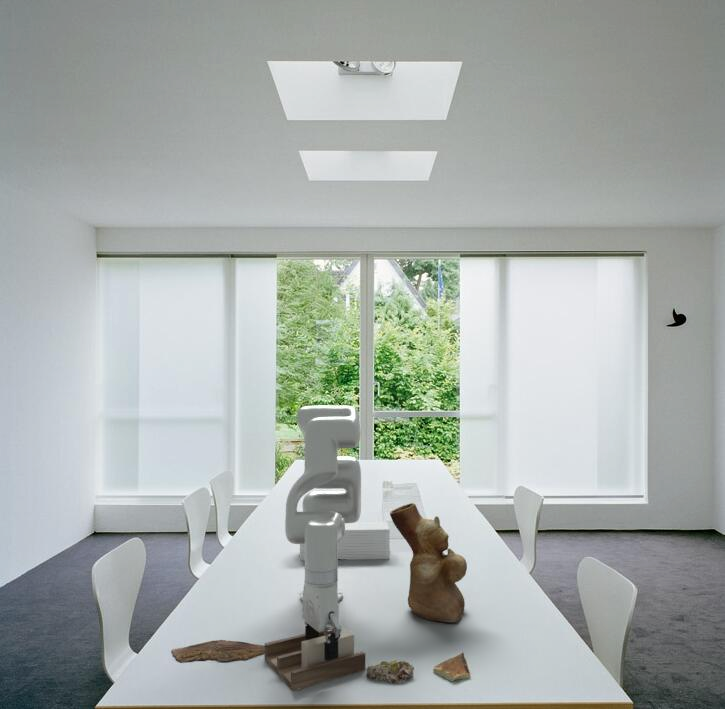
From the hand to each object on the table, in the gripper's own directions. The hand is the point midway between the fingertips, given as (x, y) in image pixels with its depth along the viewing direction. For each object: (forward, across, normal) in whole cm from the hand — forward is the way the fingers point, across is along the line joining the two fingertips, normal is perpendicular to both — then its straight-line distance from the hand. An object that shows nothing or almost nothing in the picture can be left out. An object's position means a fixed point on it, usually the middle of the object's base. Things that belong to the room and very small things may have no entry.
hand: (321, 650), depth 143 cm
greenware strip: (+4, 0, +2) cm, 4 cm away
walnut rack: (+5, -4, 0) cm, 6 cm away
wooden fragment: (+5, -21, -16) cm, 27 cm away
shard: (+6, +14, +26) cm, 30 cm away
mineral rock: (+5, +9, +13) cm, 16 cm away
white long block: (+5, -73, +46) cm, 86 cm away
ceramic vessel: (+5, -15, +41) cm, 44 cm away
